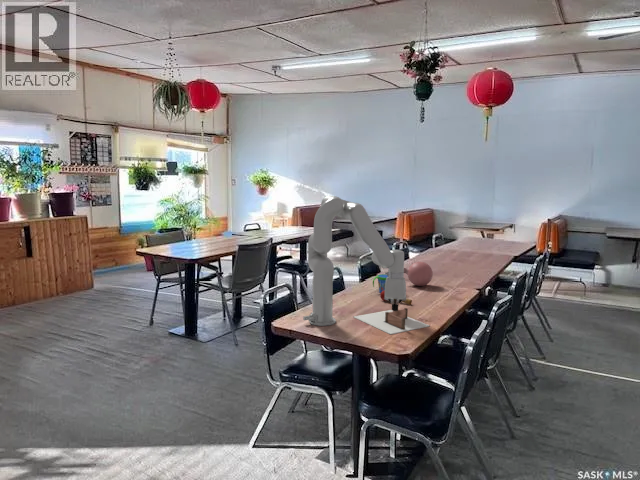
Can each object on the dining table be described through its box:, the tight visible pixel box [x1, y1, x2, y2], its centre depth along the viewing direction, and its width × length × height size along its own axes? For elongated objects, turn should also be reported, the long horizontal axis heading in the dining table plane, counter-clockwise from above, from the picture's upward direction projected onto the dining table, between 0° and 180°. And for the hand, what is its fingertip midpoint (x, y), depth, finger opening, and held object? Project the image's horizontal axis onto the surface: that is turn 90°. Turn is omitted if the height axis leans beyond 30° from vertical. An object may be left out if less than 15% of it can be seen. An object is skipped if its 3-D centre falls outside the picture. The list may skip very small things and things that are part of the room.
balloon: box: [404, 261, 433, 287], centre depth 298 cm, size 15×20×15 cm
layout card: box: [353, 309, 430, 335], centre depth 226 cm, size 23×29×1 cm
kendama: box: [379, 290, 413, 306], centre depth 260 cm, size 8×6×18 cm
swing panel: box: [389, 307, 409, 318], centre depth 227 cm, size 11×2×4 cm, turn 122°
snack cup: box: [372, 273, 388, 294], centre depth 280 cm, size 16×10×10 cm
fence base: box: [385, 312, 405, 329], centre depth 219 cm, size 2×13×5 cm, turn 30°
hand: (394, 311), depth 233 cm, fingers closed
